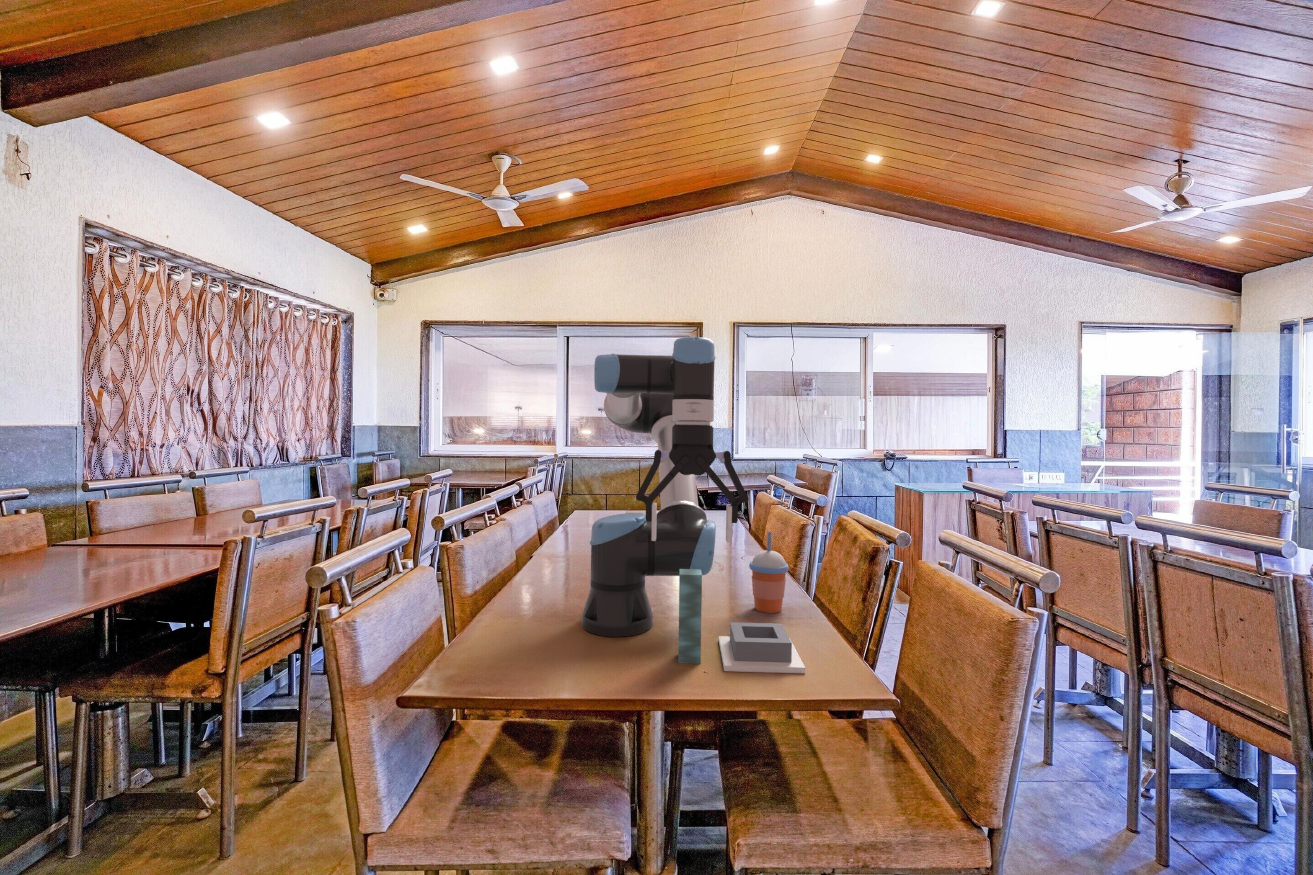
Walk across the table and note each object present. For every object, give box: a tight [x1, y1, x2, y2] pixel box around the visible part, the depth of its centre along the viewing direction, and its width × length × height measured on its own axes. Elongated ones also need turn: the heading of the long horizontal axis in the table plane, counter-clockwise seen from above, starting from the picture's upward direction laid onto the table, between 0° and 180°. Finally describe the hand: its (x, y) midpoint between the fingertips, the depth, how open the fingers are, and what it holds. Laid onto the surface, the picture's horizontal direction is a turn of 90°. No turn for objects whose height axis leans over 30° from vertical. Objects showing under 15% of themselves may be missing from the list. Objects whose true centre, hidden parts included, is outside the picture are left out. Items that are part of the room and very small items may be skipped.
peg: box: [677, 569, 703, 664], centre depth 106 cm, size 4×4×16 cm
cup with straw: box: [748, 531, 790, 614], centre depth 136 cm, size 9×9×18 cm
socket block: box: [718, 621, 806, 674], centre depth 108 cm, size 14×14×4 cm
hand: (691, 540), depth 106 cm, fingers open, 13 cm apart
